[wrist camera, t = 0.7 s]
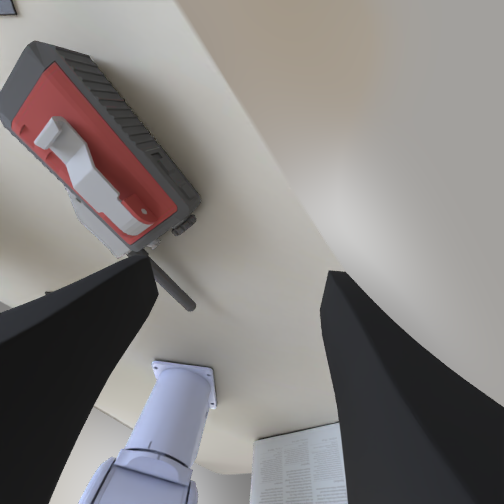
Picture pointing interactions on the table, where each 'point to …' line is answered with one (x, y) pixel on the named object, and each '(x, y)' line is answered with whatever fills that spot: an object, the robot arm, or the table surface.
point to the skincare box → (299, 468)
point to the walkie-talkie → (98, 153)
